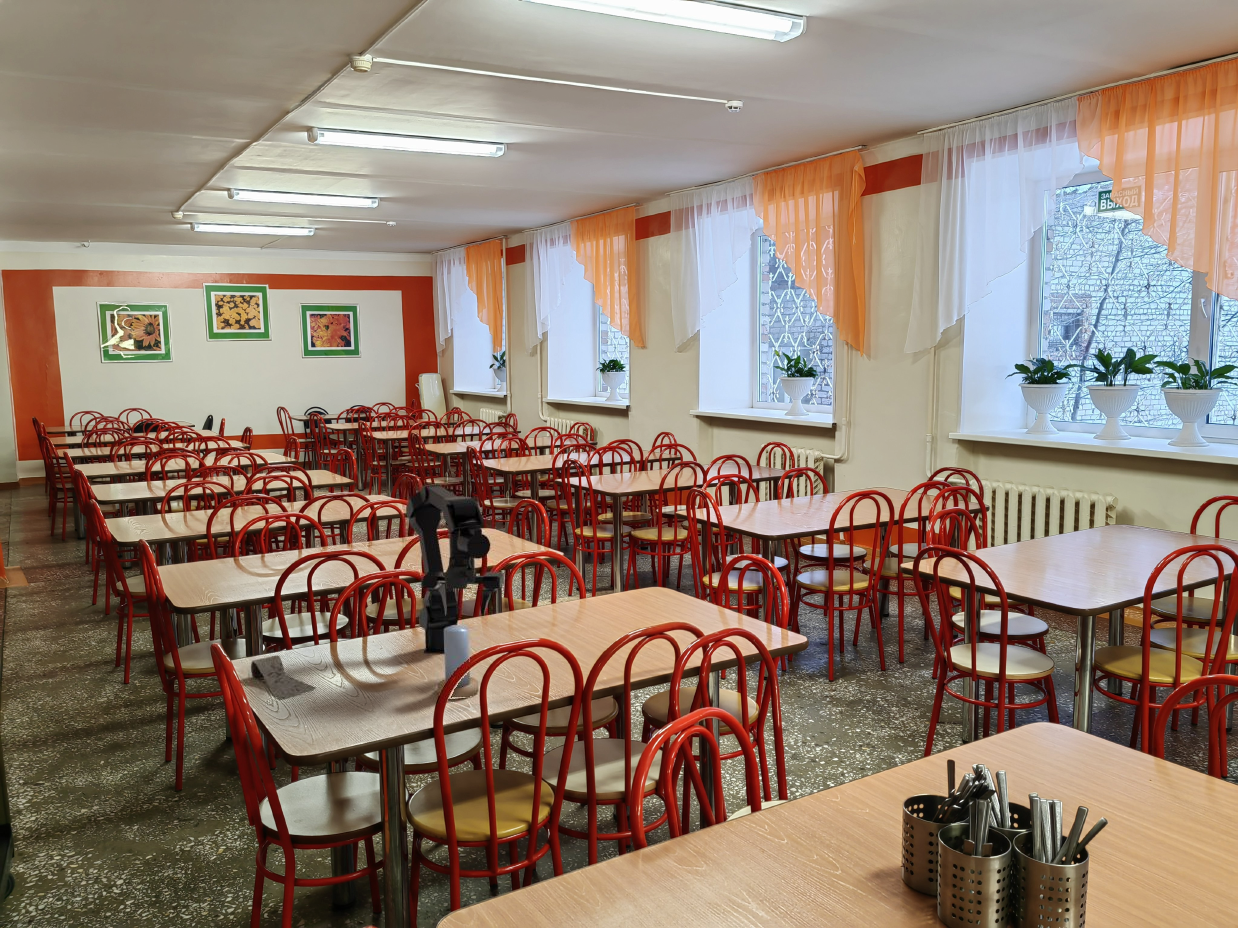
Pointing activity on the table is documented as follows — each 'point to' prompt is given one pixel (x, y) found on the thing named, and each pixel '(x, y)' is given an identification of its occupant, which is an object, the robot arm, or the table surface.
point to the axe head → (278, 678)
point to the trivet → (461, 689)
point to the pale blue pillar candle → (456, 651)
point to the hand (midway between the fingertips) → (464, 615)
